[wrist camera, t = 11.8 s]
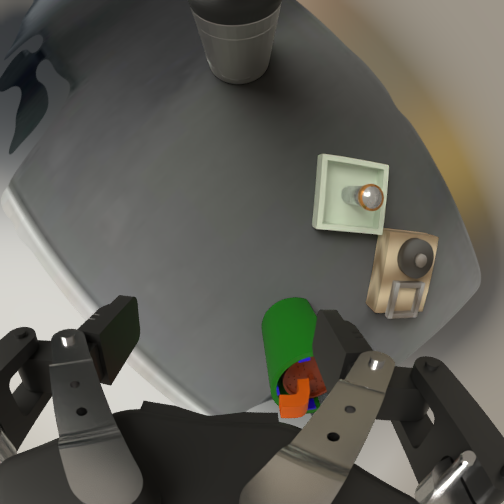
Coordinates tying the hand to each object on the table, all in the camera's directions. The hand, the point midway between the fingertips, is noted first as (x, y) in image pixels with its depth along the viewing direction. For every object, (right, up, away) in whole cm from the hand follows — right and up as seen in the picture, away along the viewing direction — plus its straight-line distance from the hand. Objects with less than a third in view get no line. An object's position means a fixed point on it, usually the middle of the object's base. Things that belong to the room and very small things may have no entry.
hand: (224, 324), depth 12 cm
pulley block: (+26, 0, +31) cm, 41 cm away
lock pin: (+16, +12, +28) cm, 34 cm away
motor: (+7, -9, +34) cm, 35 cm away
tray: (+16, +12, +28) cm, 35 cm away
